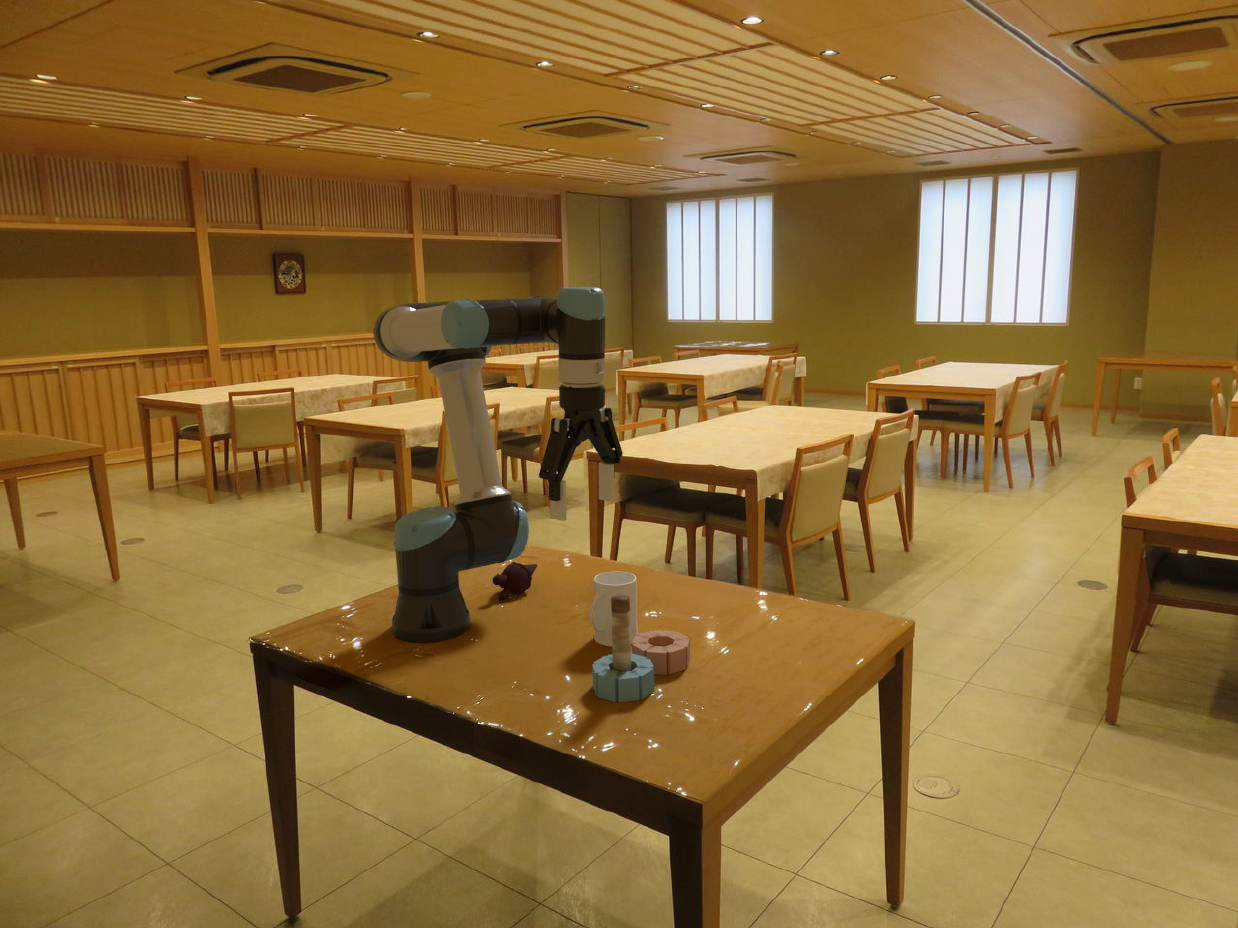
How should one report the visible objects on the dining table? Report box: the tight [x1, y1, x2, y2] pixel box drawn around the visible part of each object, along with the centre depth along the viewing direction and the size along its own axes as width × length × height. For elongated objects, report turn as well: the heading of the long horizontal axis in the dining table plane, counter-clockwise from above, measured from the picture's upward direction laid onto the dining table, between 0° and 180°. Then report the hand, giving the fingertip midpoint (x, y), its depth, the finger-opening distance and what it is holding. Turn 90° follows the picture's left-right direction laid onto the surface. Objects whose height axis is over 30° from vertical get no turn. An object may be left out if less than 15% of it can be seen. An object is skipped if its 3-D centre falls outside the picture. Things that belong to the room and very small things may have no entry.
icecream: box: [492, 561, 538, 602], centre depth 197 cm, size 7×7×15 cm
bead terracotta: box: [631, 629, 691, 676], centre depth 160 cm, size 10×10×4 cm
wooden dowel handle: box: [611, 595, 632, 672], centre depth 149 cm, size 3×3×16 cm
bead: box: [591, 652, 655, 703], centre depth 150 cm, size 10×10×4 cm
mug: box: [589, 570, 639, 648], centre depth 169 cm, size 12×8×12 cm
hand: (583, 509), depth 152 cm, fingers open, 13 cm apart
